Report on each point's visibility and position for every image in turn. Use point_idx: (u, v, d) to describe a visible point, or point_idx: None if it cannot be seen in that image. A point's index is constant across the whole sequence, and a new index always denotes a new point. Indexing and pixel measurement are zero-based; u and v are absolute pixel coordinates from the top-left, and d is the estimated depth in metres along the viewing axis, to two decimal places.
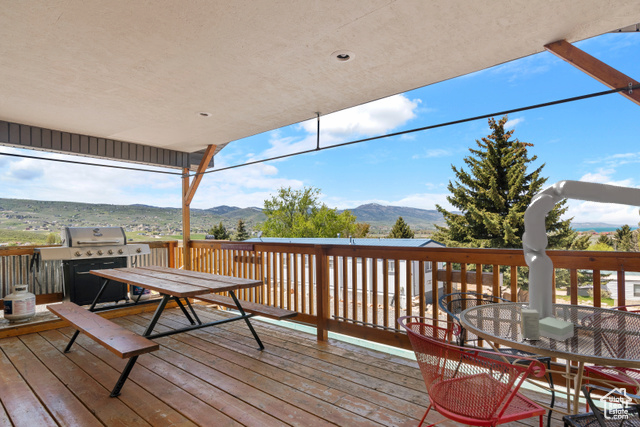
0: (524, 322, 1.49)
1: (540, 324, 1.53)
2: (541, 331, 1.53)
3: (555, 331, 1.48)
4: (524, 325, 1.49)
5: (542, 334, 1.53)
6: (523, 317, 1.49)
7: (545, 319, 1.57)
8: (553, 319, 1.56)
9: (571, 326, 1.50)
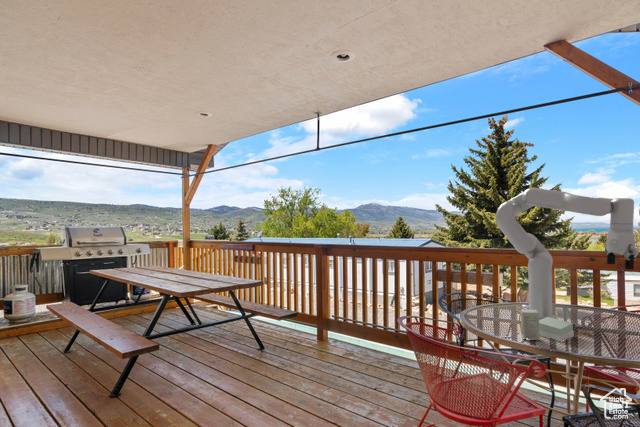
0: (524, 322, 1.49)
1: (539, 325, 1.53)
2: (541, 331, 1.53)
3: (554, 332, 1.48)
4: (524, 325, 1.49)
5: (542, 334, 1.53)
6: (523, 317, 1.49)
7: (544, 319, 1.57)
8: (552, 319, 1.56)
9: (570, 326, 1.50)
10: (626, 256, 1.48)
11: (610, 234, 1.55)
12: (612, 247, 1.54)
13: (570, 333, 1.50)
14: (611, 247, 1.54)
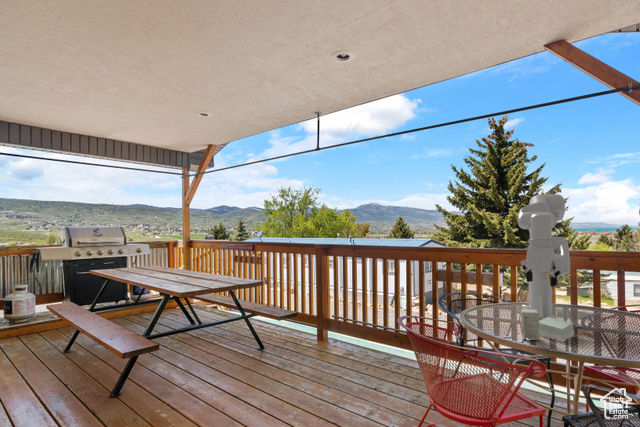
0: (524, 322, 1.49)
1: (540, 325, 1.53)
2: (541, 331, 1.53)
3: (556, 332, 1.48)
4: (524, 325, 1.49)
5: (542, 334, 1.53)
6: (523, 317, 1.49)
7: (545, 319, 1.57)
8: (553, 319, 1.56)
9: (571, 326, 1.50)
10: (551, 273, 1.44)
11: (531, 251, 1.49)
12: (535, 265, 1.48)
13: (570, 333, 1.50)
14: (534, 264, 1.49)
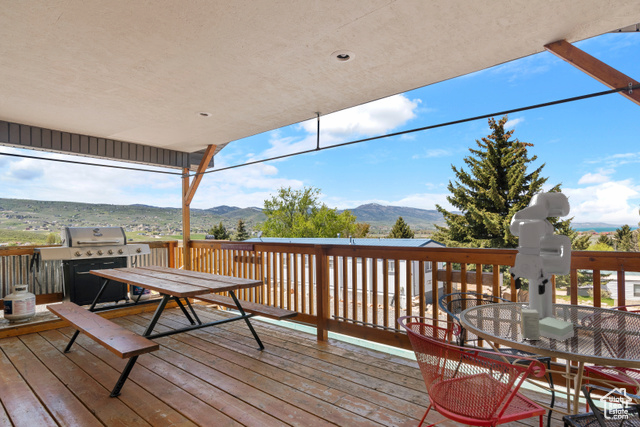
0: (524, 322, 1.49)
1: (540, 325, 1.53)
2: (541, 331, 1.53)
3: (555, 332, 1.48)
4: (524, 325, 1.49)
5: (542, 334, 1.53)
6: (523, 317, 1.49)
7: (545, 319, 1.57)
8: (553, 319, 1.56)
9: (571, 326, 1.50)
10: (539, 281, 1.44)
11: (520, 259, 1.49)
12: (524, 273, 1.48)
13: (570, 333, 1.50)
14: (522, 272, 1.49)
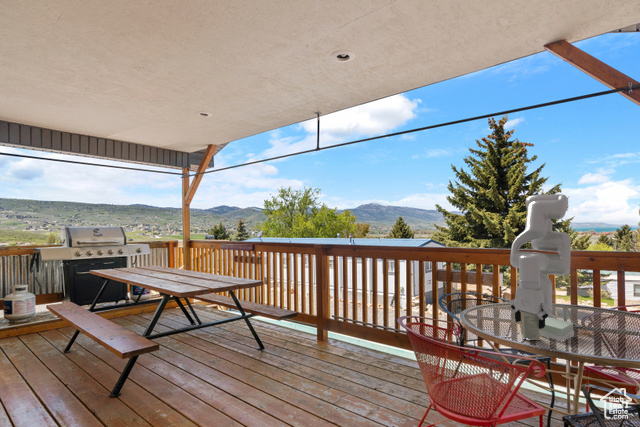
0: (524, 322, 1.49)
1: None
2: (541, 331, 1.53)
3: (555, 332, 1.48)
4: (524, 325, 1.49)
5: (542, 334, 1.53)
6: (523, 317, 1.49)
7: (545, 319, 1.57)
8: (552, 319, 1.56)
9: (570, 326, 1.50)
10: (539, 315, 1.45)
11: (520, 292, 1.50)
12: (524, 306, 1.49)
13: (570, 333, 1.50)
14: (522, 306, 1.49)
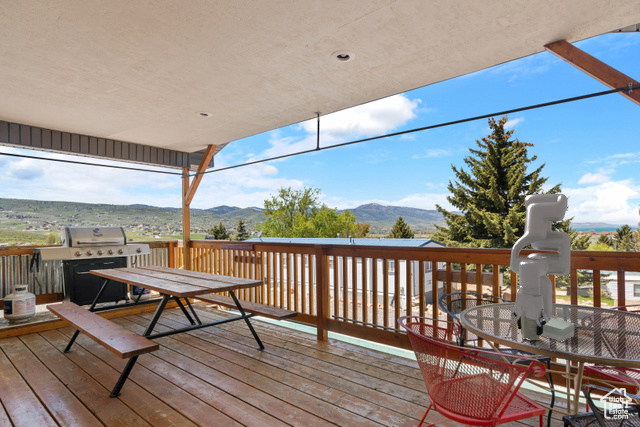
0: (524, 322, 1.49)
1: None
2: None
3: (556, 332, 1.48)
4: (524, 325, 1.49)
5: (542, 334, 1.53)
6: (523, 317, 1.49)
7: None
8: (554, 319, 1.56)
9: (572, 326, 1.50)
10: (538, 322, 1.46)
11: (520, 298, 1.50)
12: None
13: (570, 333, 1.50)
14: None
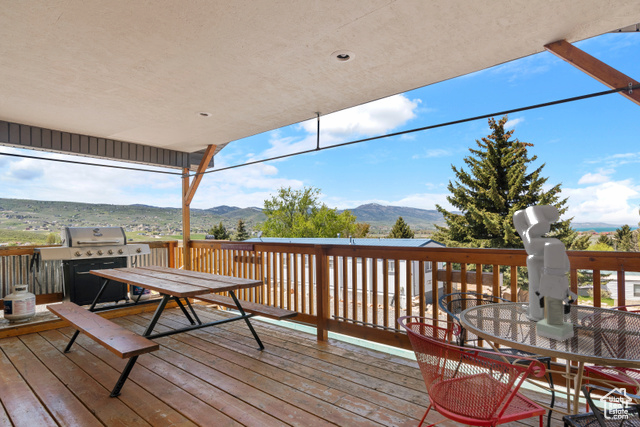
0: (548, 306, 1.51)
1: (540, 325, 1.53)
2: (541, 331, 1.53)
3: (555, 332, 1.48)
4: (548, 309, 1.51)
5: (542, 334, 1.53)
6: (547, 301, 1.51)
7: None
8: None
9: (570, 326, 1.50)
10: (565, 301, 1.47)
11: (545, 278, 1.52)
12: (549, 292, 1.51)
13: (570, 333, 1.50)
14: (547, 292, 1.52)
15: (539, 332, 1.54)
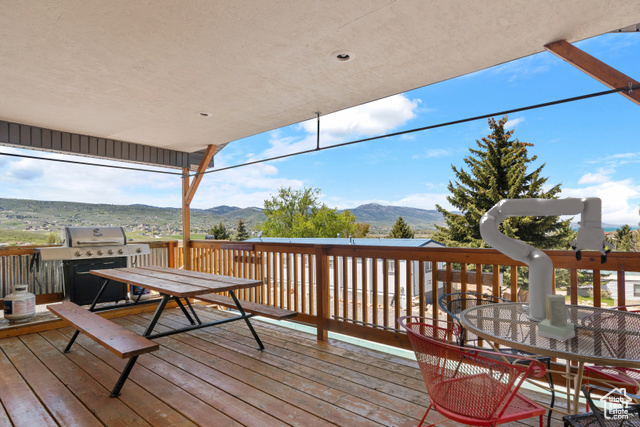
0: (551, 307, 1.51)
1: (542, 326, 1.52)
2: (542, 332, 1.53)
3: (558, 333, 1.47)
4: (551, 310, 1.51)
5: (543, 335, 1.52)
6: (550, 302, 1.50)
7: None
8: None
9: (572, 326, 1.50)
10: (602, 251, 1.58)
11: (582, 232, 1.63)
12: (586, 244, 1.61)
13: (571, 334, 1.50)
14: (584, 244, 1.62)
15: (540, 332, 1.53)
